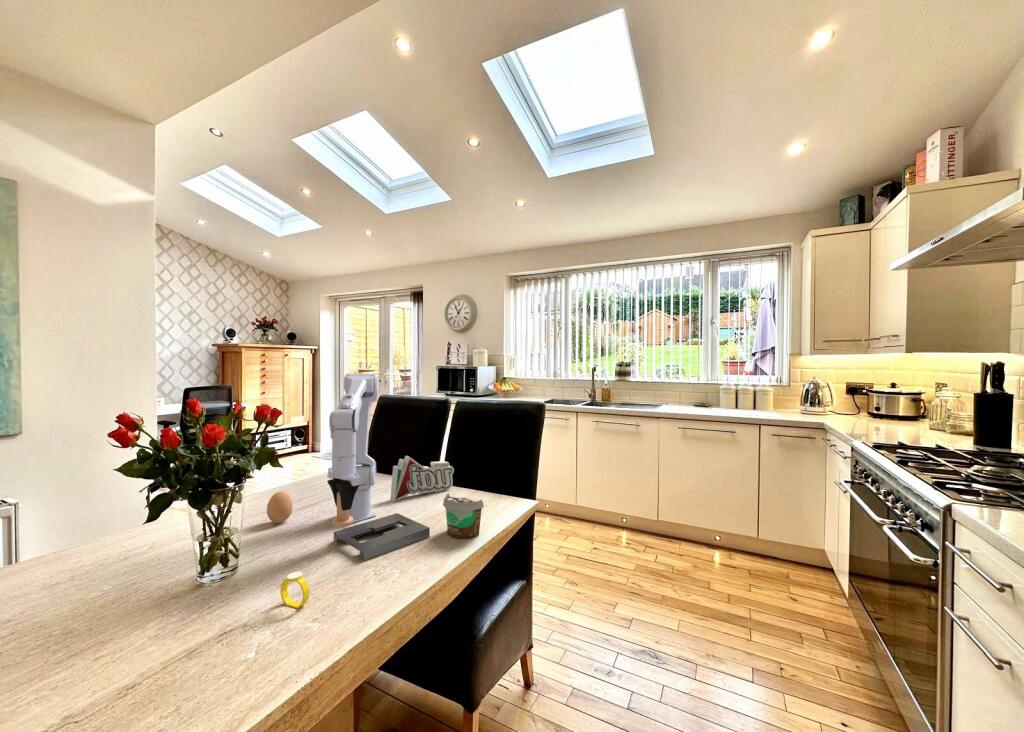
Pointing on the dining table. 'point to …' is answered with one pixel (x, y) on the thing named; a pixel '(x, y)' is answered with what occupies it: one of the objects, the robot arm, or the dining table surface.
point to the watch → (304, 586)
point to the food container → (462, 517)
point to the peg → (341, 515)
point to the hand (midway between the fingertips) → (343, 507)
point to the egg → (279, 507)
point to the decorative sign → (419, 478)
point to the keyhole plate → (389, 540)
